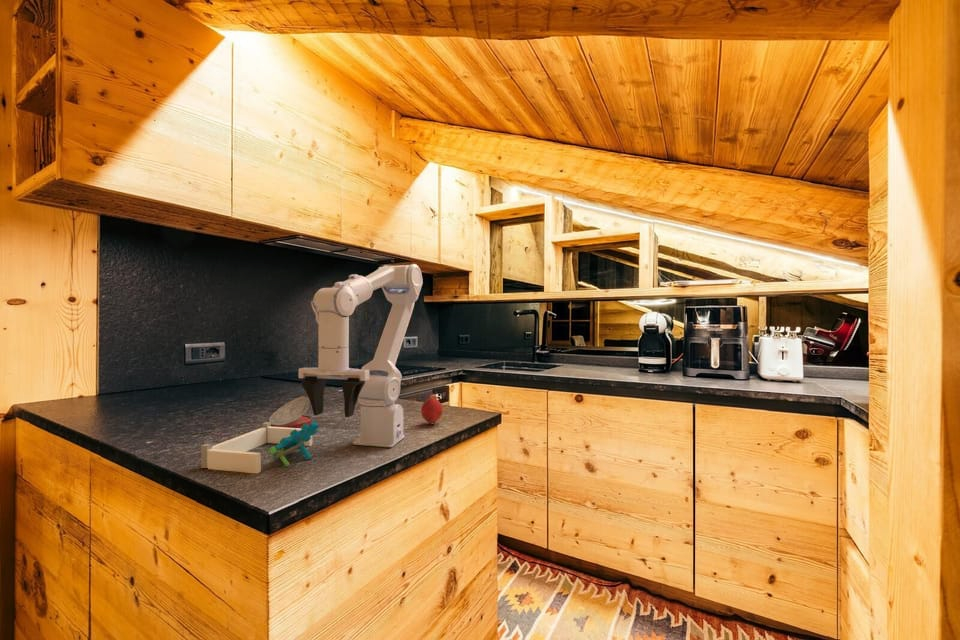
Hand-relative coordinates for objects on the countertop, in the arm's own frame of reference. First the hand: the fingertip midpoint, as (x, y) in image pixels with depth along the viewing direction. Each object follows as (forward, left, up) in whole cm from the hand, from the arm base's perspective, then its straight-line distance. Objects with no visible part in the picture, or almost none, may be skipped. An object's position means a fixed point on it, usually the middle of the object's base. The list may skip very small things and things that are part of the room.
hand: (333, 415), depth 81 cm
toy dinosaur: (+9, 0, -10) cm, 13 cm away
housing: (+17, 0, -9) cm, 19 cm away
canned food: (+23, -17, -10) cm, 30 cm away
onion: (-10, -31, -10) cm, 34 cm away
